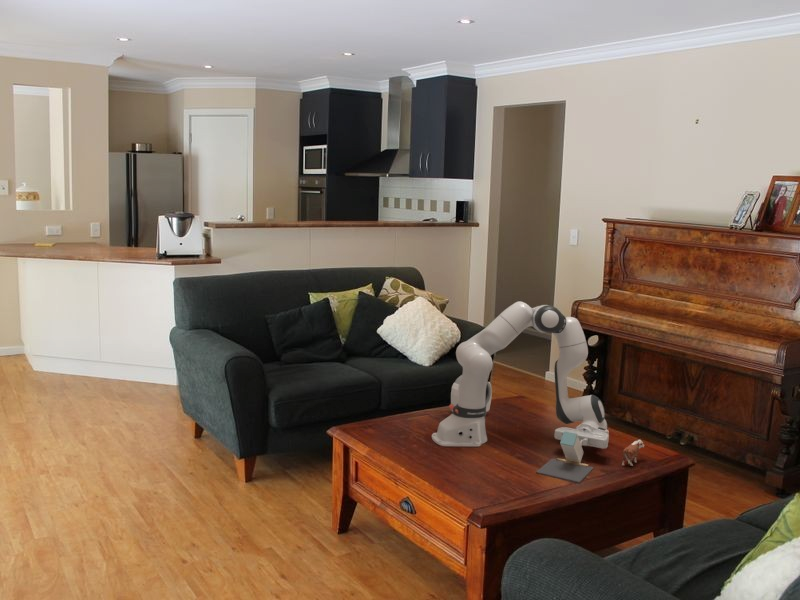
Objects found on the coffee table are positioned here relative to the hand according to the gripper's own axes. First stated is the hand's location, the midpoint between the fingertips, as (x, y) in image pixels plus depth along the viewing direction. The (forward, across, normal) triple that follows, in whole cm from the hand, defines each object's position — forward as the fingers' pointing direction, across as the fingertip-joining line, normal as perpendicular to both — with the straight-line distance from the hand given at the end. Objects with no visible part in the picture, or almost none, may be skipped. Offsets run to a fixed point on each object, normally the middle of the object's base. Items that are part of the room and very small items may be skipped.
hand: (575, 442), depth 289 cm
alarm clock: (-29, -57, +7) cm, 65 cm away
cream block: (-2, 0, +6) cm, 6 cm away
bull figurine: (-14, +18, +8) cm, 24 cm away
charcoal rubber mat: (+9, 0, +8) cm, 13 cm away
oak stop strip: (+1, 0, +8) cm, 8 cm away
